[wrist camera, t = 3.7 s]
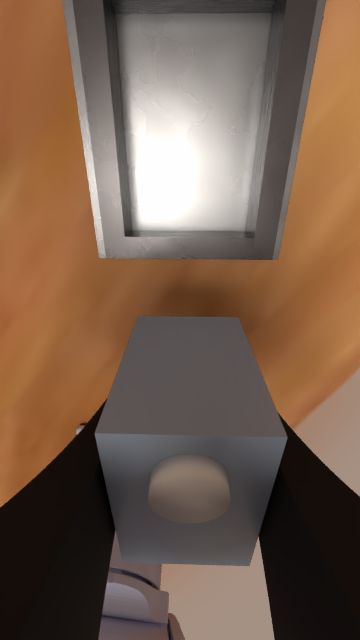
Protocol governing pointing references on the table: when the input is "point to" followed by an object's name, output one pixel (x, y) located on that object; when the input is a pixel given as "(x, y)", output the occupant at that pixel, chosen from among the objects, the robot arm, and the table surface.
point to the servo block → (189, 443)
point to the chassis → (191, 121)
